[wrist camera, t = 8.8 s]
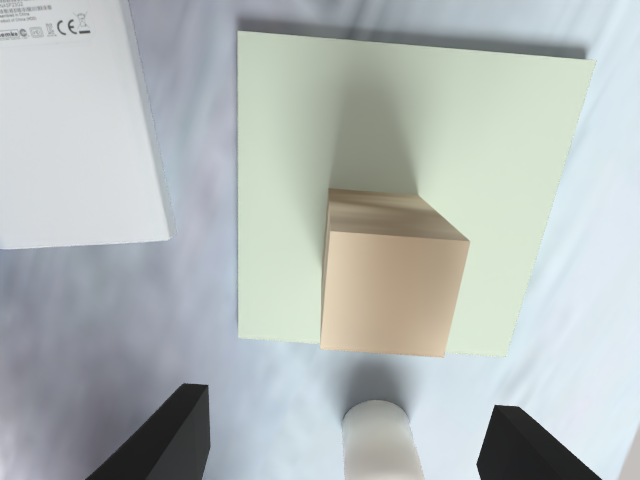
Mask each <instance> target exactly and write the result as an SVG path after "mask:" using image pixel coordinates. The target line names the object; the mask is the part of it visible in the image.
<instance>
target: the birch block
mask: <svg viewBox="0 0 640 480" xmlns="http://www.w3.org/2000/svg"><path fill="white" fill-rule="evenodd" d="M470 242H471V241H470V240H468V239H467V238H466V237H465V236H464V235H463V234H462V233H461V232H459V231H458V230H457V229H456V228H455V227H454V226H453V225H452V224H450V223H449V222H448V221H447V220H446V219H445V218H444V217H443V216H441V215H440V214H439V213H438V212H437V211H436V210H435V209H434V208H432V207H431V206H430V205H429V204H428V203H427V202H426V201H424V200H423V199H422V198H421V197H420V196H419V195H411V194H397V193H384V192H371V191H357V190H344V189H331V188H328V199H327V212H326V224H325V236H324V248H323V260H322V278H321V327H320V349H326V350H341V351H355V352H370V353H384V354H398V355H413V356H427V357H442V358H444V354H445V350H446V346H447V341H448V337H449V333H450V328H451V324H452V320H453V315H454V311H455V307H456V302H457V298H458V294H459V289H460V285H461V281H462V276H463V272H464V268H465V263H466V259H467V255H468V250H469V246H470Z"/></svg>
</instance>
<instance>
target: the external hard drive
mask: <svg viewBox="0 0 640 480" xmlns="http://www.w3.org/2000/svg"><path fill="white" fill-rule="evenodd" d="M176 234H177V229H176V224H175V220H174V215H173V210H172V205H171V200H170V195H169V191H168V186H167V182H166V177H165V172H164V168H163V163H162V158H161V153H160V149H159V144H158V139H157V134H156V129H155V125H154V120H153V116H152V111H151V106H150V101H149V96H148V91H147V86H146V82H145V77H144V72H143V67H142V63H141V58H140V53H139V48H138V44H137V39H136V34H135V29H134V25H133V20H132V15H131V10H130V5H129V1H128V0H0V248H1V249H27V248H46V247H63V246H82V245H101V244H122V243H141V242H153V241H165V240H169V239H171V238H172V237H173V236H175V235H176Z"/></svg>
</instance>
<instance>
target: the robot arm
mask: <svg viewBox="0 0 640 480" xmlns="http://www.w3.org/2000/svg"><path fill="white" fill-rule="evenodd" d="M209 450H210V422H209V394H208V385H200V384H186V383H184V384H182V385H181V386H180V387H179V388H178V389H177V390H176V391H175V392H174V393H173V394H172V395H171V396H170V397H169V398H168V399H167V400H166V401H165V402H164V403H163V405H162V406H161V407H160V408H159V409H158V410H157V411H156V412H155V413H154V414H153V415H152V416H151V417H150V418H149V419H148V420H147V421H146V422H145V423H144V424H143V425H142V426H141V427H140V428H139V429H138V430H137V431H136V432H135V433H134V434H133V435H132V436H131V437H130V438H129V439H128V440H127V441H126V442H125V443H124V444H123V445H122V446H121V447H120V448H119V449H118V450H117V451H116V452H115V453H114V454H113V455H111V456H110V457H109V458H108V459H107V460H106V461H105V462H104V463H103V464H102V465H101V466H100V467H99V468H98V469H97V470H95V471H94V472H93V473H92V474H91V475H90V476H89V477H88V478H87V479H85V480H202V476H203V473H204V469H205V465H206V461H207V458H208V454H209ZM476 465H477V468H478V472H479V475H480V478H481V480H602V479H601V478H600V477H598V476H597V475H596V474H595V473H594V472H593V471H592V470H590V469H589V468H588V467H587V466H586V465H585V464H584V463H583V462H581V461H580V460H579V459H578V458H577V457H576V456H575V455H574V454H572V453H571V452H570V451H569V450H568V449H567V448H566V447H565V446H563V445H562V444H561V443H560V442H559V441H558V440H557V439H556V438H554V437H553V436H552V435H551V434H550V433H549V432H548V431H547V430H545V429H544V428H543V427H542V426H541V425H540V424H539V423H537V422H536V421H535V420H534V419H533V418H532V417H531V416H529V415H528V414H527V413H526V412H525V411H523V410H522V409H521V408H520V407H517V406H502V405H495V406H494V409H493V412H492V415H491V419H490V422H489V425H488V429H487V432H486V435H485V438H484V442H483V445H482V448H481V451H480V455H479V458H478V461H477V464H476Z"/></svg>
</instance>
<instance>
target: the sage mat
mask: <svg viewBox="0 0 640 480" xmlns="http://www.w3.org/2000/svg"><path fill="white" fill-rule="evenodd" d="M237 40H238V338H245V339H259V340H273V341H287V342H301V343H315V344H320V327H321V278H322V260H323V248H324V236H325V224H326V212H327V199H328V188H331V189H344V190H357V191H371V192H384V193H397V194H411V195H419V196H420V197H421V198H422V199H423V200H424V201H426V202H427V203H428V204H429V205H430V206H431V207H432V208H434V209H435V210H436V211H437V212H438V213H439V214H440V215H441V216H443V217H444V218H445V219H446V220H447V221H448V222H449V223H450V224H452V225H453V226H454V227H455V228H456V229H457V230H458V231H459V232H461V233H462V234H463V235H464V236H465V237H466V238H467V239H468V240H470V241H471V242H470V246H469V250H468V255H467V259H466V263H465V268H464V272H463V276H462V281H461V285H460V289H459V294H458V298H457V302H456V307H455V311H454V315H453V320H452V324H451V328H450V333H449V337H448V341H447V346H446V350H445V353H454V354H468V355H482V356H496V357H506V355H507V352H508V349H509V345H510V342H511V339H512V336H513V332H514V329H515V326H516V322H517V319H518V316H519V313H520V309H521V306H522V303H523V300H524V296H525V293H526V290H527V286H528V283H529V280H530V277H531V273H532V270H533V267H534V264H535V260H536V257H537V254H538V250H539V247H540V244H541V241H542V237H543V234H544V231H545V228H546V224H547V221H548V218H549V214H550V211H551V208H552V205H553V201H554V198H555V195H556V192H557V188H558V185H559V182H560V179H561V175H562V172H563V169H564V165H565V162H566V159H567V156H568V152H569V149H570V146H571V143H572V139H573V136H574V133H575V129H576V126H577V123H578V120H579V116H580V113H581V110H582V107H583V103H584V100H585V97H586V93H587V90H588V87H589V84H590V80H591V77H592V74H593V71H594V67H595V64H596V60H584V59H572V58H560V57H548V56H536V55H524V54H512V53H500V52H488V51H476V50H464V49H452V48H440V47H428V46H416V45H404V44H392V43H380V42H368V41H356V40H344V39H332V38H320V37H308V36H296V35H284V34H272V33H260V32H248V31H237Z"/></svg>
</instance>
